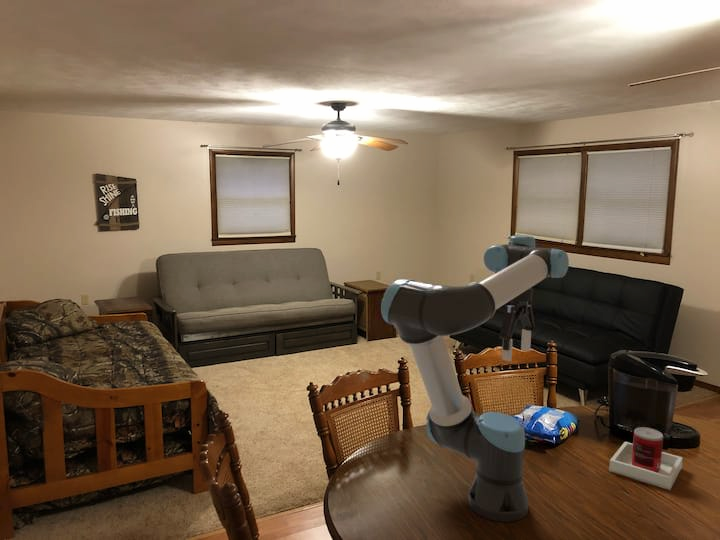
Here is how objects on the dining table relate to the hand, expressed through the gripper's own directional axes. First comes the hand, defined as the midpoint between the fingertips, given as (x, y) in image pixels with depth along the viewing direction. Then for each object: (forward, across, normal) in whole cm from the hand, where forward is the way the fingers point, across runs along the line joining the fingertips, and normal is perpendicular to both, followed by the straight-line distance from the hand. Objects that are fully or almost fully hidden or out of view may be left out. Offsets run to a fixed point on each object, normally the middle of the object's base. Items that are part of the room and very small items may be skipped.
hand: (516, 355), depth 168 cm
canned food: (+31, +16, -35) cm, 50 cm away
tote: (+32, +16, -35) cm, 50 cm away
